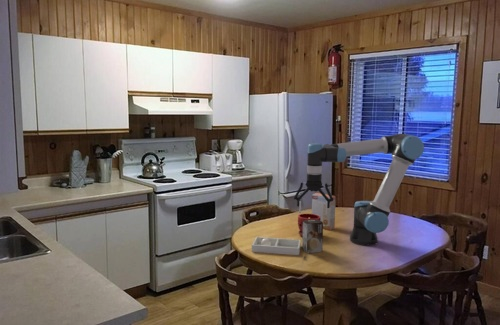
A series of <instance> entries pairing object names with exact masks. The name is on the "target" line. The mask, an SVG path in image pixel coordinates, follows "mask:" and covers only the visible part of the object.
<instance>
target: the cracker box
mask: <svg viewBox="0 0 500 325" xmlns="http://www.w3.org/2000/svg"><path fill="white" fill-rule="evenodd" d="M311 195H312V196H311V198H312V199H311V214H315V215H319V216H320V217H321V220H320V221H322V222H323V230H327V231H331V230H334V229H335V224H336V222H335V221H336V220H335V219H336V196H335V195H332V197H333V201H331V202H330V207H329V208H327V215H326V199H325V198H324V197H323V196H322V194H321V193H320V192H315V193H312V194H311ZM325 195H326V196H327V197H328V198H329V199H330V197H329V195H328V194H327V193H326V194H325Z"/></svg>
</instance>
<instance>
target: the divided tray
mask: <svg viewBox="0 0 500 325" xmlns="http://www.w3.org/2000/svg"><path fill="white" fill-rule="evenodd" d="M264 238H267V239H269V240H270V242H271V244H270V246H265V245H261V241H262V239H264ZM301 244H302V240H301V239H293V238H281V237H279V238H278V237H266V236H265V237H264V236H255V239H254V240H253V242H252V244H251V252H253V253H265V254H279V255H289V256H290V255H294V256H300V252H301V247H302V245H301Z"/></svg>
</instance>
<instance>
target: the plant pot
mask: <svg viewBox="0 0 500 325" xmlns="http://www.w3.org/2000/svg"><path fill="white" fill-rule="evenodd" d="M316 219H318V220H321V217H320V216H319V215H315V214H312V213H299V214H298V216H297V226H298V229H299V231H298V234H299V236H300V237H303V220H316Z"/></svg>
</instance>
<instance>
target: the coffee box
mask: <svg viewBox="0 0 500 325" xmlns="http://www.w3.org/2000/svg"><path fill="white" fill-rule="evenodd" d="M323 234H324V229H323V222H322V221H320V220H318V219H316V220H303V236H302V245H301V247H302V249H303V251H304V252H305V253H306V254H310V253H312V254H313V253H321V252H323V250H324V249H323V246H324V245H323V243H324V240H323V239H324V235H323Z"/></svg>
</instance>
